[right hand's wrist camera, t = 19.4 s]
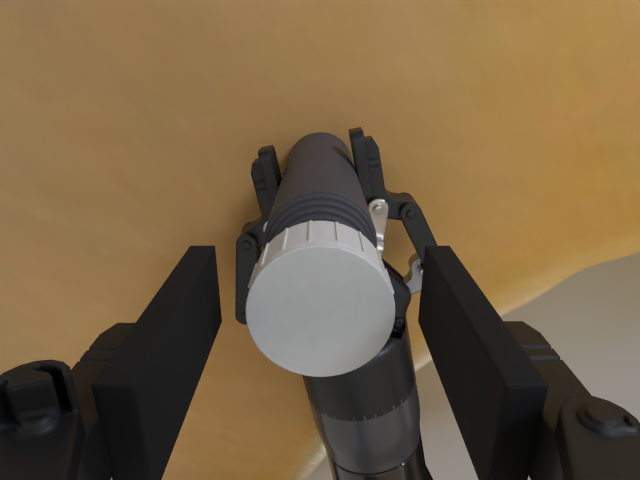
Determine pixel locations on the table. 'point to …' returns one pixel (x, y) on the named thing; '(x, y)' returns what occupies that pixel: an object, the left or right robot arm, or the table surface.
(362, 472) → the left robot arm
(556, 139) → the table surface
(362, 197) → the bottle
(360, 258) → the cap
